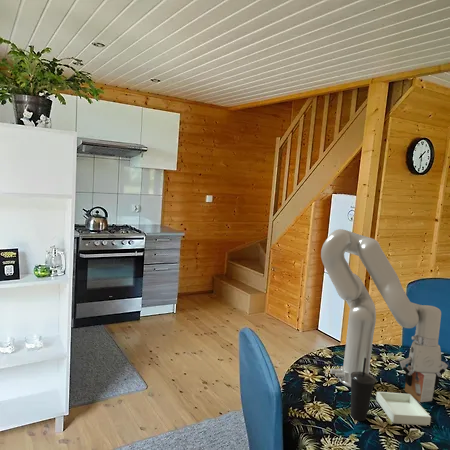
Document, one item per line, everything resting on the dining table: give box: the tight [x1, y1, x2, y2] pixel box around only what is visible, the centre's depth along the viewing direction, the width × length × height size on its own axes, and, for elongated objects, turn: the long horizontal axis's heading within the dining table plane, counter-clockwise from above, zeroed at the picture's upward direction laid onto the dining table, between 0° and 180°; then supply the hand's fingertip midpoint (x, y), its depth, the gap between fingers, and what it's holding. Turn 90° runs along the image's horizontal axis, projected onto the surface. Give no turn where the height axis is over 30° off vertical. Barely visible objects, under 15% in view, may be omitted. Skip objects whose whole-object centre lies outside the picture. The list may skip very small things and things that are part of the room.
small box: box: [404, 364, 436, 403], centre depth 146 cm, size 8×6×10 cm
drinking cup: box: [350, 358, 376, 422], centre depth 129 cm, size 8×8×20 cm
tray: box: [375, 391, 432, 427], centre depth 135 cm, size 12×14×3 cm
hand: (421, 384), depth 146 cm, fingers open, 9 cm apart
